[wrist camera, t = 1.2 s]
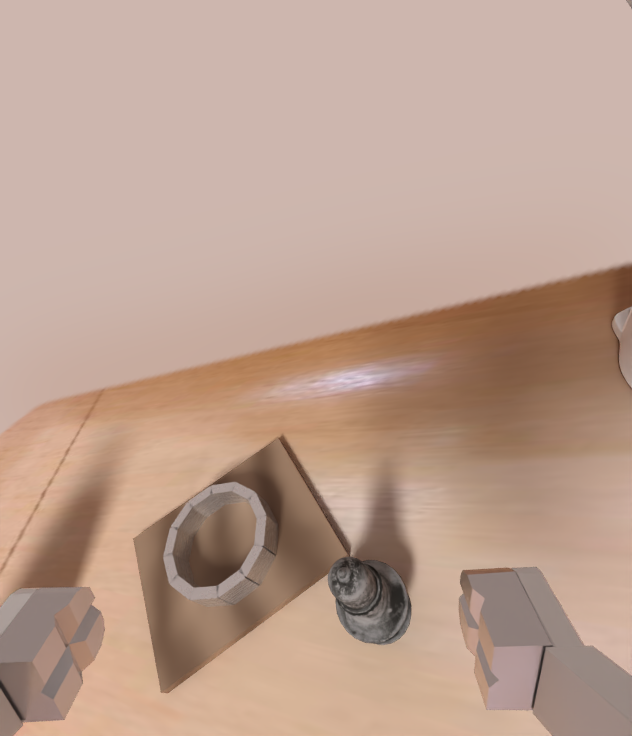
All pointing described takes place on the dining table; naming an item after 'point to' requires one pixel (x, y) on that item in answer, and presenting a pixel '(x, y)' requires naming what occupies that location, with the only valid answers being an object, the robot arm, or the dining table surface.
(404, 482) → the dining table surface
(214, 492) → the steel collar
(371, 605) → the salt shaker
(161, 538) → the walnut board
